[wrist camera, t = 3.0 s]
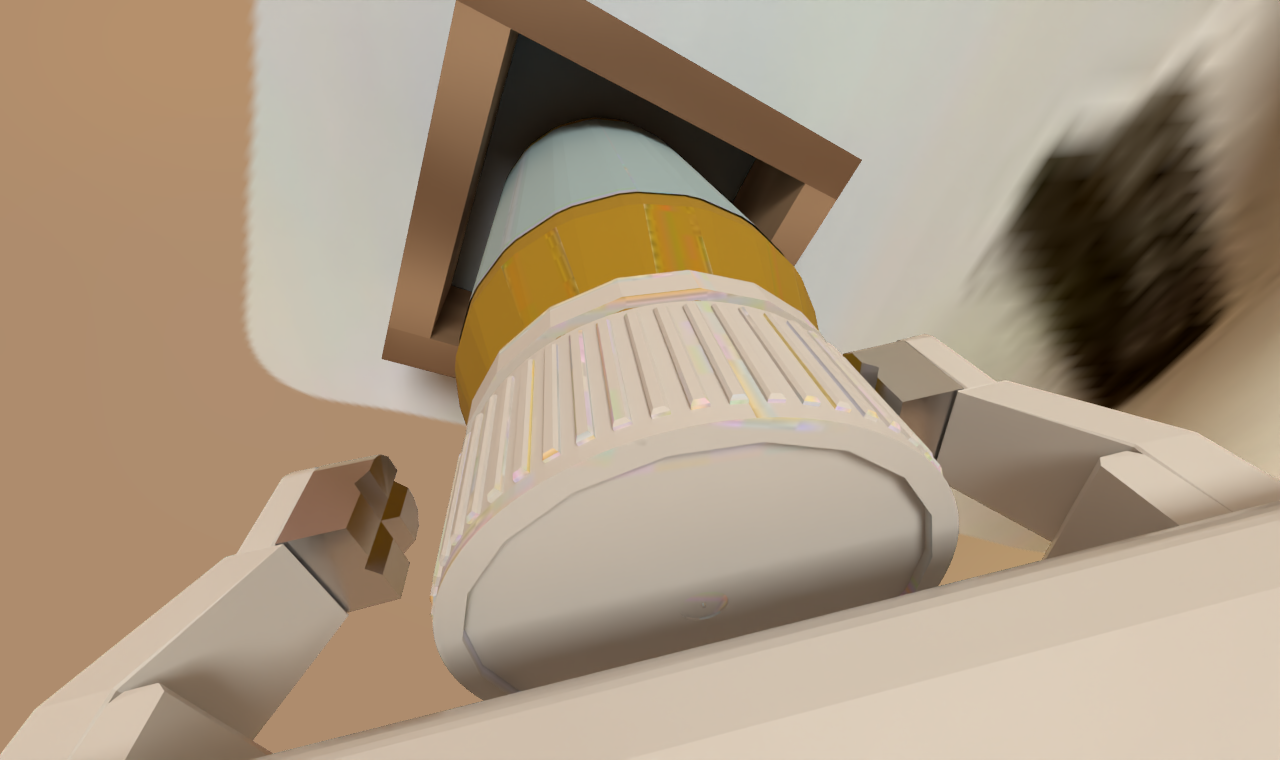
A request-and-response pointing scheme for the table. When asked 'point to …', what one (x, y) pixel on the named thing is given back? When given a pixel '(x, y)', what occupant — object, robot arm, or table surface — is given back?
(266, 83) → the table surface
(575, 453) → the bottle
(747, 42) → the table surface
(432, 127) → the pocket
